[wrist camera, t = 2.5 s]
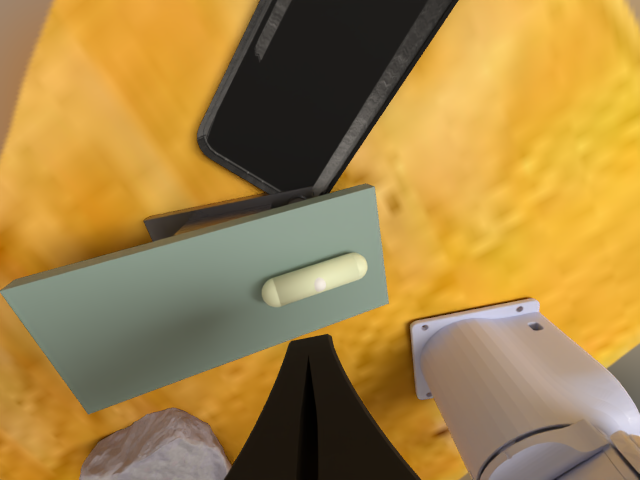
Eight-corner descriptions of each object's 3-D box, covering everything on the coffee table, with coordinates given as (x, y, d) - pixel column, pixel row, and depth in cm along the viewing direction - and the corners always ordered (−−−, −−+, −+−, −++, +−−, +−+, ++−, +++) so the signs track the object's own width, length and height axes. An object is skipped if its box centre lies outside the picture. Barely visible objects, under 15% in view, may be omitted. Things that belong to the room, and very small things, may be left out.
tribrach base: (311, 183, 18) (314, 197, 15) (332, 281, 21) (337, 309, 18) (149, 216, 18) (121, 236, 16) (190, 310, 21) (173, 342, 18)
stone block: (187, 378, 26) (82, 443, 26) (177, 428, 22) (51, 507, 21) (261, 449, 31) (174, 505, 31) (265, 501, 27) (164, 567, 26)
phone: (487, -44, 14) (311, 219, 18) (475, -33, 15) (310, 213, 20) (348, -191, 12) (187, 145, 16) (344, -167, 13) (194, 143, 17)
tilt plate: (358, 180, 17) (389, 192, 14) (374, 287, 20) (402, 317, 16) (27, 270, 13) (-29, 312, 10) (101, 384, 16) (75, 443, 13)
